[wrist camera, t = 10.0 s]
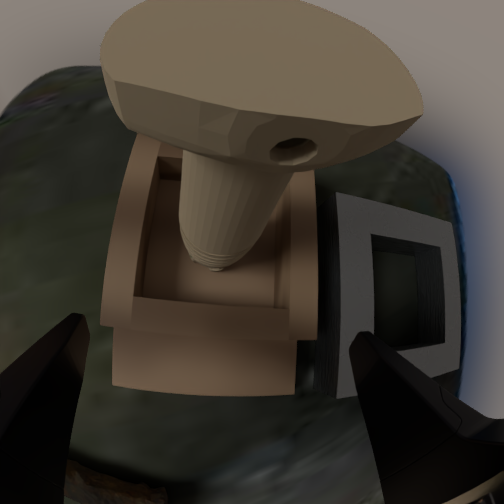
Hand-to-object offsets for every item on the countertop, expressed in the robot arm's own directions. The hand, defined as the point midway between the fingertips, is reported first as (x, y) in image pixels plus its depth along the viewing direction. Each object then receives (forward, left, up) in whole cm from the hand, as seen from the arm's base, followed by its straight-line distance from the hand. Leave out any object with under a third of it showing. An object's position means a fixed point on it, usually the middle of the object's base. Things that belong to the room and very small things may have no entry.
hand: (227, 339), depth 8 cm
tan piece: (+6, 0, -10) cm, 12 cm away
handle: (+5, 0, -9) cm, 11 cm away
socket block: (+3, -15, -10) cm, 18 cm away
